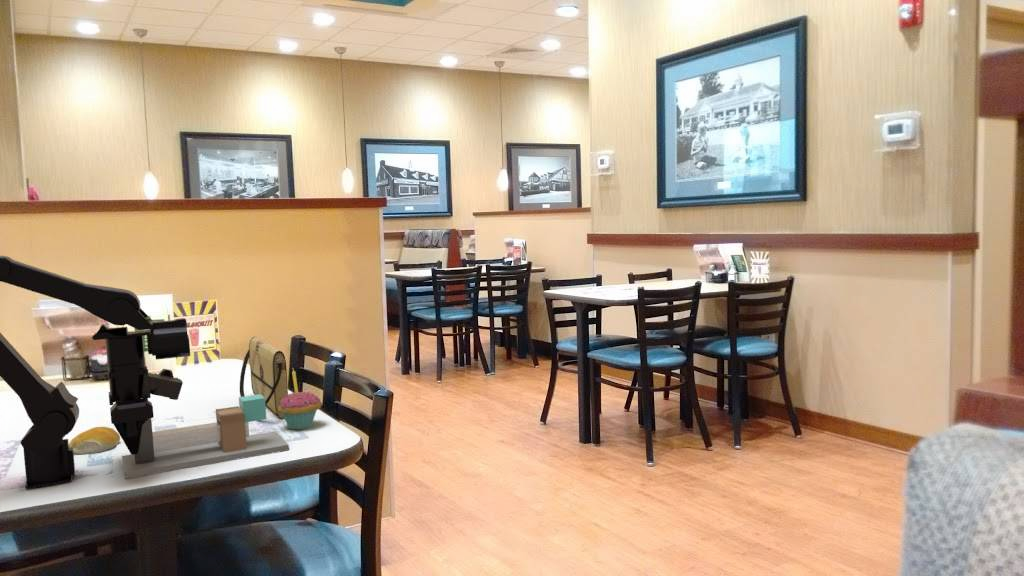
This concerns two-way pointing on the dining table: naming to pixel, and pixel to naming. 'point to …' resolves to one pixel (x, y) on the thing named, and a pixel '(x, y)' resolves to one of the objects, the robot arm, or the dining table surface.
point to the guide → (211, 448)
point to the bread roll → (94, 440)
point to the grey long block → (177, 438)
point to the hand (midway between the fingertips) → (134, 450)
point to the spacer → (253, 407)
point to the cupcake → (299, 407)
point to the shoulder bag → (266, 373)
